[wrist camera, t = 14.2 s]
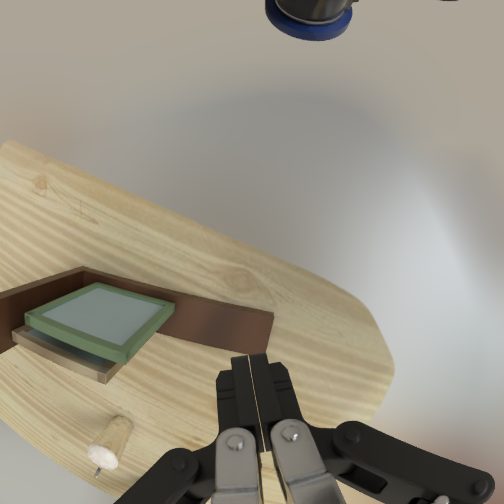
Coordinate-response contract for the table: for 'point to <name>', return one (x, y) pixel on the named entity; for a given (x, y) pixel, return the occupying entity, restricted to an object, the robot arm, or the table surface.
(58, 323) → the panel
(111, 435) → the milkshake
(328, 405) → the table surface
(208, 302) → the window frame
